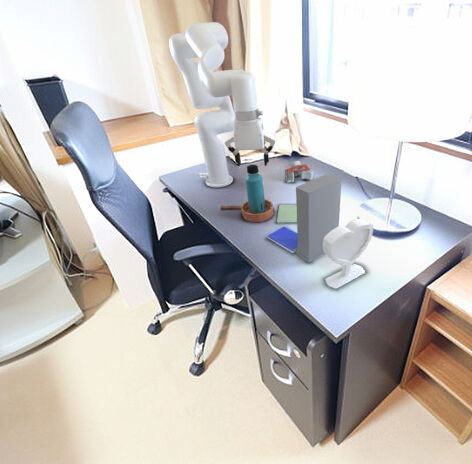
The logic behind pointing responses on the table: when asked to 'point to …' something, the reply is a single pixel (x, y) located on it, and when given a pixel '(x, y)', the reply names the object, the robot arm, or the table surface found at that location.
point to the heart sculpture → (347, 250)
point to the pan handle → (230, 207)
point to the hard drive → (285, 239)
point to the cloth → (287, 214)
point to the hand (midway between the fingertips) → (252, 164)
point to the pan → (257, 217)
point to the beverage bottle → (255, 190)
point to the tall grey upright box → (317, 213)
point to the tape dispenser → (298, 172)
